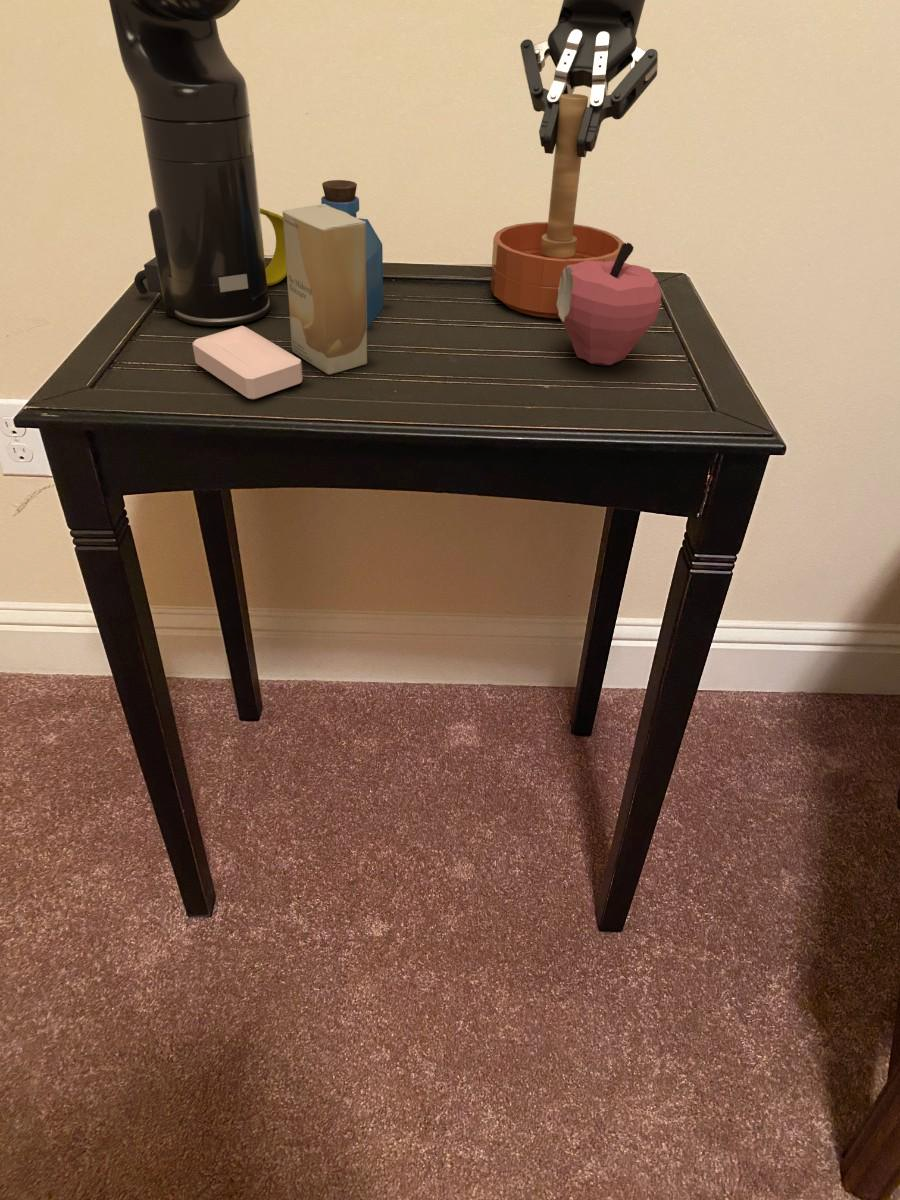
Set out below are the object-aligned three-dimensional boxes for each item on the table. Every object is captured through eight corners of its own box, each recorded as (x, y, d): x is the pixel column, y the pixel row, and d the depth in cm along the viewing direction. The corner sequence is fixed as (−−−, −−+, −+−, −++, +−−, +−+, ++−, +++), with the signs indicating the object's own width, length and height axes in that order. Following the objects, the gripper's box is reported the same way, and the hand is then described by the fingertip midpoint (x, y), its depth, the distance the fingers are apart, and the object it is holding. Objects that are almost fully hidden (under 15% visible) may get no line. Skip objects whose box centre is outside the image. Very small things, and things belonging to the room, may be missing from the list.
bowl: (482, 315, 86) (486, 253, 82) (498, 274, 96) (502, 217, 92) (614, 327, 85) (624, 265, 81) (615, 284, 95) (624, 227, 91)
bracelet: (269, 286, 94) (287, 293, 92) (207, 268, 88) (225, 276, 86) (285, 218, 92) (304, 224, 90) (223, 194, 86) (242, 200, 84)
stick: (538, 256, 86) (553, 97, 78) (541, 246, 89) (556, 91, 80) (574, 259, 86) (593, 100, 77) (576, 248, 89) (594, 94, 80)
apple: (548, 338, 82) (560, 228, 76) (638, 341, 82) (657, 232, 76) (556, 380, 74) (570, 262, 68) (655, 384, 74) (678, 266, 68)
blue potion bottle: (366, 329, 82) (362, 195, 74) (305, 322, 83) (295, 189, 75) (383, 307, 87) (381, 179, 79) (325, 301, 88) (317, 173, 80)
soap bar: (251, 404, 69) (247, 376, 67) (193, 364, 74) (188, 338, 72) (306, 384, 72) (303, 357, 70) (247, 348, 77) (243, 322, 75)
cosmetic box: (290, 353, 77) (277, 208, 69) (330, 342, 79) (322, 201, 72) (330, 377, 73) (321, 227, 66) (371, 365, 75) (367, 219, 68)
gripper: (533, -55, 79) (486, 115, 78) (684, -48, 76) (638, 130, 74) (542, 10, 86) (499, 167, 85) (680, 19, 83) (638, 183, 82)
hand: (564, 149), depth 80 cm, fingers closed on stick, 2 cm apart
